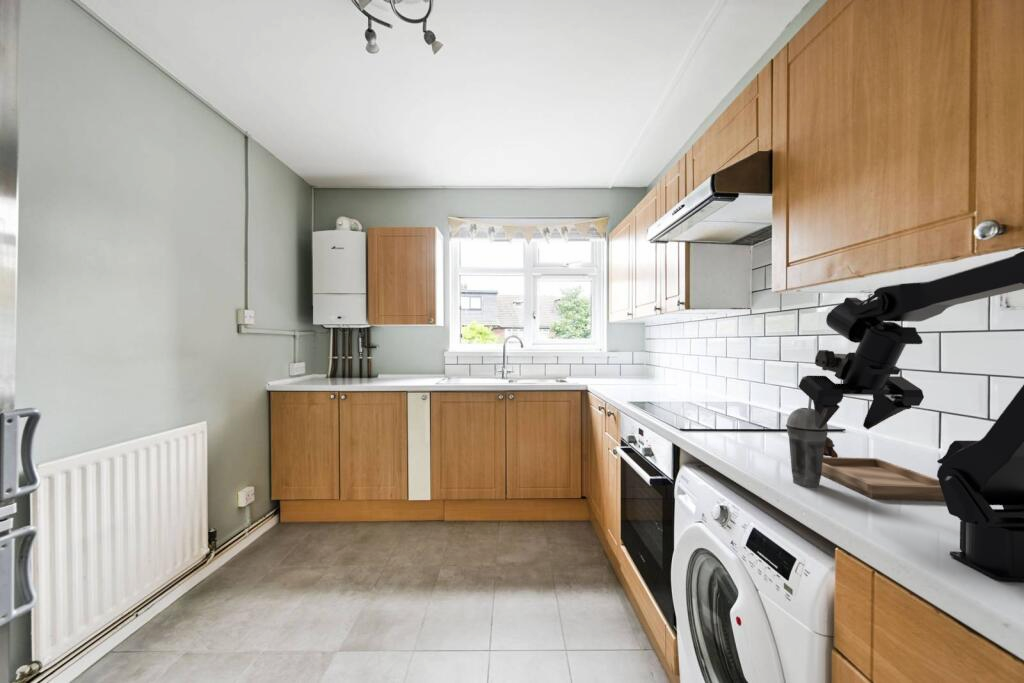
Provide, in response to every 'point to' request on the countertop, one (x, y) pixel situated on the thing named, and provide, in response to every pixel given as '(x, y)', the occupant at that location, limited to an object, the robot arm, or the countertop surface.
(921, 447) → the countertop surface
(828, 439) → the brown rounded piece
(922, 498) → the walnut tray
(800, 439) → the beverage cup
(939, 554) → the countertop surface
